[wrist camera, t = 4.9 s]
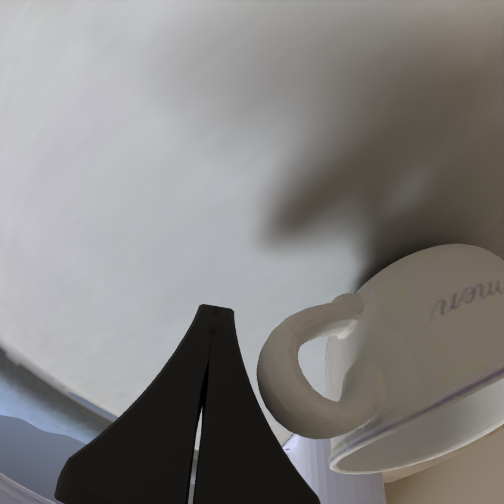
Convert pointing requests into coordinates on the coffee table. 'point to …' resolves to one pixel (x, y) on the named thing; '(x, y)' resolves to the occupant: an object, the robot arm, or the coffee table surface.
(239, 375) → the robot arm
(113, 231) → the coffee table surface
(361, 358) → the teacup
